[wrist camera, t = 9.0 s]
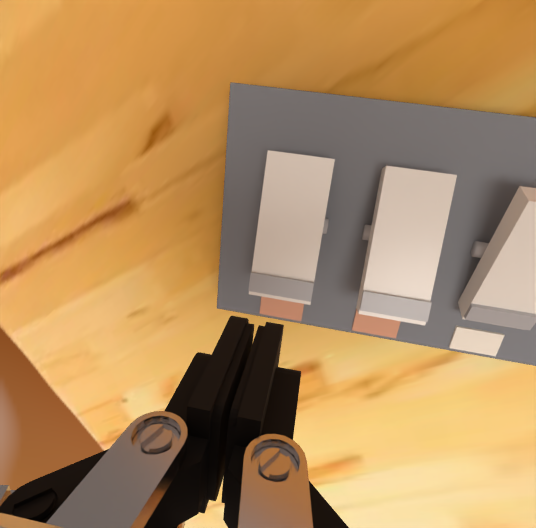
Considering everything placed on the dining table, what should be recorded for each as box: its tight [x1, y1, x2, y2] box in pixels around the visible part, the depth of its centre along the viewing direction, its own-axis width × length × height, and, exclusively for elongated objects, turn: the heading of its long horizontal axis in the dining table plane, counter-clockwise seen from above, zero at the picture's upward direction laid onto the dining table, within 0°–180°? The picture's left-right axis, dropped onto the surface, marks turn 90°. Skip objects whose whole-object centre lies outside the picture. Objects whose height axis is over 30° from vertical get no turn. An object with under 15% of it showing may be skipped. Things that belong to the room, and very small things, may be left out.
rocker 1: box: [248, 150, 335, 305], centre depth 24 cm, size 9×4×2 cm, turn 174°
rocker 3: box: [458, 186, 536, 330], centre depth 23 cm, size 9×4×2 cm, turn 174°
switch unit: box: [217, 82, 536, 366], centre depth 27 cm, size 16×24×5 cm, turn 84°
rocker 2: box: [356, 166, 457, 325], centre depth 24 cm, size 9×4×2 cm, turn 174°
